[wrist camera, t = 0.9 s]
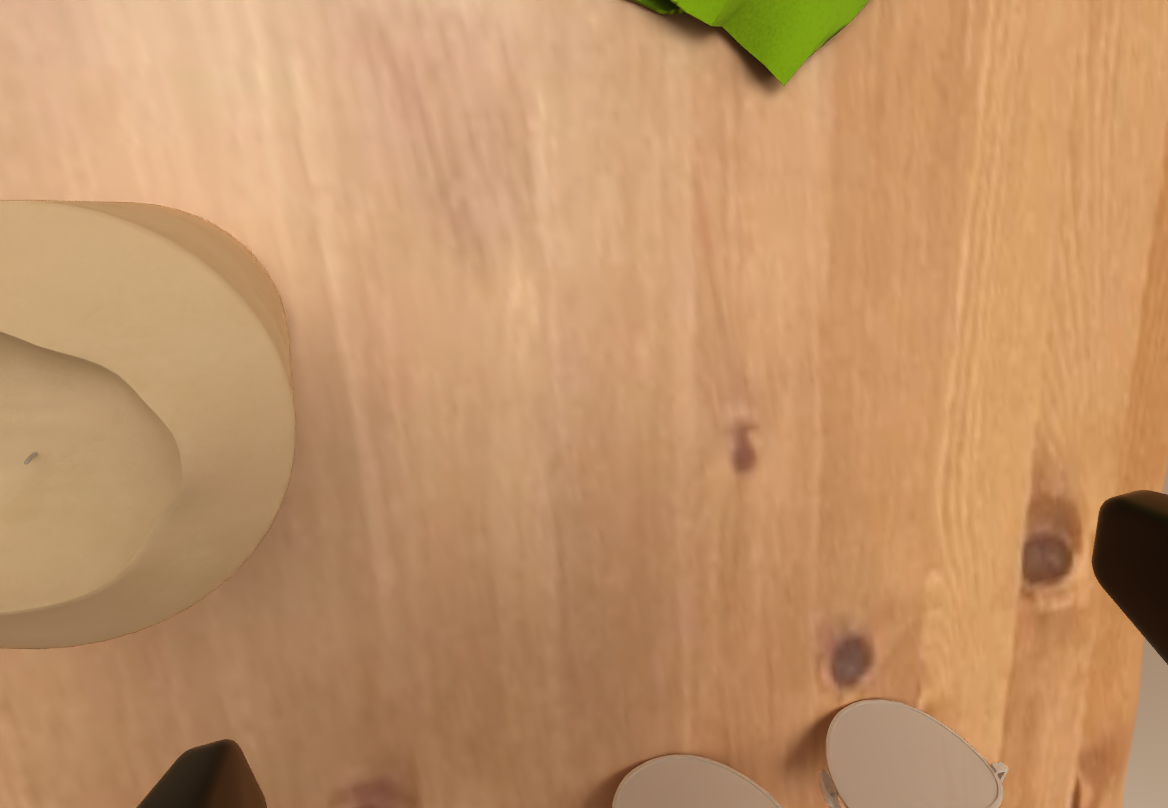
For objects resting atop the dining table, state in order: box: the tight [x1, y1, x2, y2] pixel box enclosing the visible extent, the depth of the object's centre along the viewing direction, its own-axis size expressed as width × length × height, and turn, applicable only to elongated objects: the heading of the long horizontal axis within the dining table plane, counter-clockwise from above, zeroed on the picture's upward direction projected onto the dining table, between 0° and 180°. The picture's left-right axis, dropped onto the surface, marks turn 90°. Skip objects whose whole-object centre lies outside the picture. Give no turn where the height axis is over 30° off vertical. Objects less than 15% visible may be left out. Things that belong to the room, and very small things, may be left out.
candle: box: [0, 200, 295, 649], centre depth 13 cm, size 6×6×10 cm
